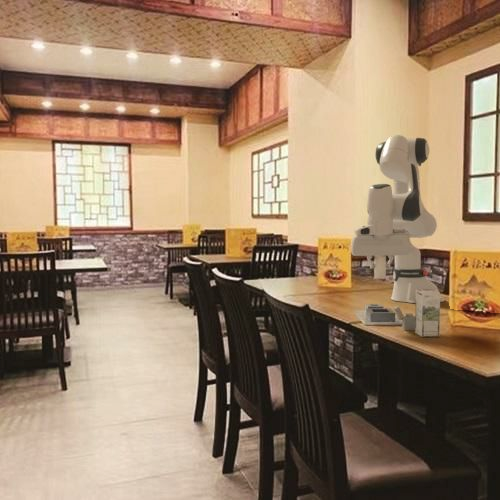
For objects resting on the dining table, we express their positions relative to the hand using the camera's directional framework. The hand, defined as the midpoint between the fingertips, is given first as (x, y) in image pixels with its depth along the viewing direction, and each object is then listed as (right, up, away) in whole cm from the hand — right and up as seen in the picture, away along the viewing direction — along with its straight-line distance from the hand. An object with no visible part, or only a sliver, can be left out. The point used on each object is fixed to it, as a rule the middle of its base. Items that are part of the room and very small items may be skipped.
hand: (380, 268), depth 176 cm
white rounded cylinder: (0, -4, 0) cm, 4 cm away
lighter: (+5, -20, -11) cm, 24 cm away
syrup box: (+10, -21, -20) cm, 30 cm away
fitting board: (+1, -19, +7) cm, 20 cm away
